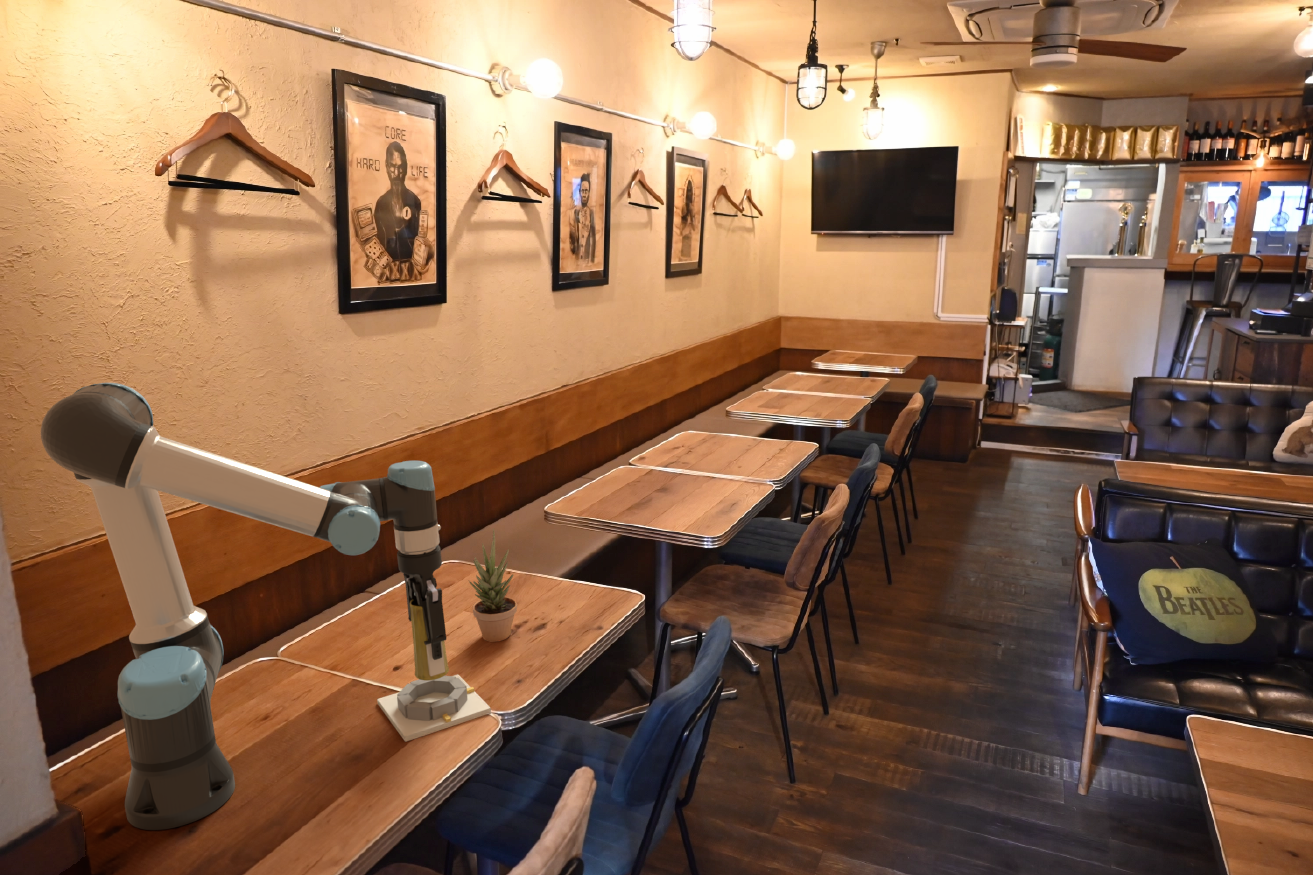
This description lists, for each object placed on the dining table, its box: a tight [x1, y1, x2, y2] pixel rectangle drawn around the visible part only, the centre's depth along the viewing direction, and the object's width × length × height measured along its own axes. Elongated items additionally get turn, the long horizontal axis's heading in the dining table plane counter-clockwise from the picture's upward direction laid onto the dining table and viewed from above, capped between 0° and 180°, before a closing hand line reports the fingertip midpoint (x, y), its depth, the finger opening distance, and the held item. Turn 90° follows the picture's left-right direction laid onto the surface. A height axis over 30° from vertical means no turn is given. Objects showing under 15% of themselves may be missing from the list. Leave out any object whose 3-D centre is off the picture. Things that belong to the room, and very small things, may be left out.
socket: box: [376, 674, 492, 742], centre depth 162 cm, size 16×16×4 cm
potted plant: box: [468, 528, 518, 643], centre depth 190 cm, size 10×10×25 cm
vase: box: [410, 600, 450, 681], centre depth 160 cm, size 6×6×14 cm
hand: (431, 666), depth 161 cm, fingers closed on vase, 6 cm apart
